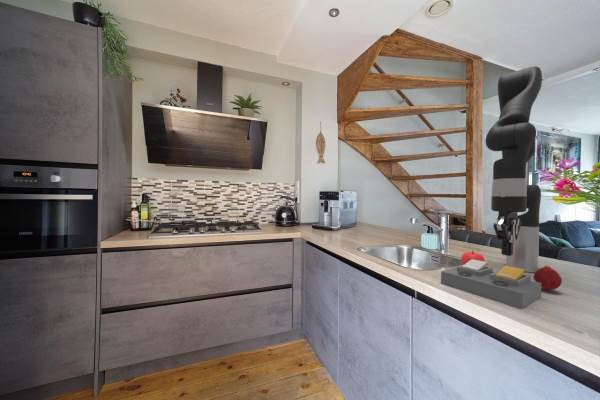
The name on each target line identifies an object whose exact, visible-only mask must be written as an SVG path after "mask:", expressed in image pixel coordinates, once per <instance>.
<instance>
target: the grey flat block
mask: <svg viewBox="0 0 600 400" xmlns="http://www.w3.org/2000/svg"><path fill="white" fill-rule="evenodd" d="M462 266H463V265H458V266H455V267H452V268H451V267H450V268H447V269H444V270H440V271H441V272H440V284H441V285H445V286H447V287H448V286H449V287H451V288H454V289H458V290H461V291H464V292H467V293H470V294H473V295H477V296H479V297H484V298H486V299H489V300H492V301H496V302H499V303H502V304H505V305H508V306H511V307H515V308H518V309H521V310H524V309H525V308H527V307H528V306H530V305H531V304H532V303H534V302H535V301H537V300H539V299H540V298H541V297H542V287H541V283H540V282H536V281H535V280H531V275H527V274H523V276H522V277H521V278H520V279H519V280H517V281H516V280H512V279H508V278H504V277H499V276H496V274H497V273H498V272H499V271H497V272H496V271H494V270H493V269H494V267H491V266H487V267H486V268H484V269H483V270H481V271H474V270H470V269H466V268H462Z"/></svg>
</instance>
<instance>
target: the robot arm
mask: <svg viewBox="0 0 600 400" xmlns="http://www.w3.org/2000/svg"><path fill="white" fill-rule="evenodd" d="M542 75H543V74H542V70H541V68H540V67H539V66H530V67H526V68H523V69H519V70H516V71H513V72H509V73H505V74H502V75H501V76H500V77H499V78H498V82H497V97H498V104H499V113H500V114H499V117H498V120H497V121H496V122H495V123H494V124H493V125H492V126H491V128H490V129H489V130H488V132H487V134H486V136H485V146H486V148H487V149H488V150H490V151H493V152H501V158H499V159H497V160H495V161H494V162H493V166H492V179H493V180H492V184H491V202H490V203H491V204H490V206H491V207H490V209H491V211H492V212H498V215H497V218H496V223H495V222H494V223H493V225H492V226H493V229H494V233H495V235H496V238H497V240H498V241H500V242H501V255H503V256H506V258H505V266H509V267H514V268H519V269H524V273H525V272H526V273H535V272H536V271H537V270H538V269H539V256H540V255H539V252H540V251H539V248H540V245H539V244H540V208H541V200H542V199H541V198H542V191H541V190H542V189H541V187H540V186H539V185H537V184H527V181H526V180H527V179H526V178H527V176H526V175H527V163H528V162H529V161H530V160H531V158H532V157H533V156H534V154H535V152H536V136H537V128H536V127H535V125H534V124H532V123H531V122H530V116H531V112H532V107H533V105H534V103H535V101H536V99H537V98H538V95H539V93H540V91H541V88H542V83H543V76H542ZM518 213H522V214H519V215H518Z"/></svg>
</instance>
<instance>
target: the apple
mask: <svg viewBox="0 0 600 400" xmlns="http://www.w3.org/2000/svg"><path fill="white" fill-rule="evenodd" d="M471 259H474V260H478V261H483V262H486V260H485V258H484V256H483V254H481V253H477V252H474V250H472V251H471V252H468V251H467V252H463V254H462V255H461V257H460V264H461V265H464V264H466V263H467V262H469V261H470V260H471ZM461 265H460V266H461Z"/></svg>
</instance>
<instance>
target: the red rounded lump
mask: <svg viewBox="0 0 600 400" xmlns="http://www.w3.org/2000/svg"><path fill="white" fill-rule="evenodd" d="M533 273H534V274H533V281H535V282H540V283H541V289H543V290H544V291H546V292H549V291H552V290H556V289H558V288H560V287H561V285H562V283H563V281H562V280H563V279H562V276H561V275H560V274H559V273H558V272H557V270H555V269H554V268H552V267H551V266H550V265H549V264H547V263H546V264H544V266H543V267H541V268H538V270H537V271H536V272H533Z"/></svg>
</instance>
